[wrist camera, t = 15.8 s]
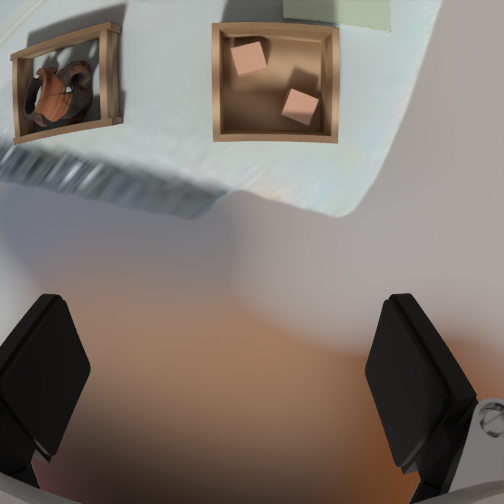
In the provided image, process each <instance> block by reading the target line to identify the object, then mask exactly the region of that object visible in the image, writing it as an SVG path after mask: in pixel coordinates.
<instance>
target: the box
mask: <svg viewBox="0 0 504 504" xmlns="http://www.w3.org/2000/svg"><path fill="white" fill-rule="evenodd" d="M259 41H260V44H261V48H262V51H263V54H264V58H265V61H266V64H267V70H266V71H263V72H259V73H255V74H250V75H247V76H243V77H239V76H238V72H237V69H236V66H235V62H234V59H233V56H232V52H231V48H235V47H239V46H242V45H247V44H251V43H255V42H259ZM339 81H340V50H339V28H337V27H329V26H320V25H309V24H296V23H276V22H228V23H212V106H213V142H226V141H291V142H319V143H337V144H338V123H339ZM289 89H294V90H297V91H299V92H302V93H304V94H307V95H309V96H311V97H314V98H316V99H319V101H318V103H317V106H316V108H315V111H314V113H313V116H312V118H311V121H310V123H309V125H306V124H303V123H301V122H298V121H296V120H293V119H290V118H288V117H285V116H283V115H280V114H279V111H280V109H281V106H282V104H283V101H284V99H285V96H286V94H287V91H288V90H289Z"/></svg>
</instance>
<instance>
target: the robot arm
mask: <svg viewBox="0 0 504 504" xmlns="http://www.w3.org/2000/svg"><path fill="white" fill-rule="evenodd" d="M89 374H90V363H89V360H88V358H87V356H86V353H85V351H84V348H83V346H82V343H81V341H80V338H79V336H78V333H77V331H76V328H75V325H74V323H73V320H72V317H71V314H70V312H69V309H68V306H67V303H66V302H65V300H63V299H62V297H61V296H60V295H56V294H42V295H41V296H40V297H39V299H37V301H36V302H35V303H34V304H33V305H32V307H31V308H30V309H29V310H28V312H27V313H26V314H25V315H24V316H23V318H22V319H21V320H20V322H19V323H18V324H17V325H16V327H15V328H14V329H13V330H12V332H11V333H10V334H9V336H8V337H7V338H6V340H5V341H4V342H3V344H2V345H1V346H0V504H81V503H77V502H74V501H71V500H68V499H65V498H62V497H59V496H56V495H53V494H51V493H48V492H45V491H43V490H41V488H40V486H39V483H38V480H37V477H36V475H35V472H34V469H33V466H32V463H31V459H32V456H34V457H35V458H36V459H38V460H41V461H44V462H47V463H50V460H51V457H52V456H54V455H55V454H56V453H57V450H58V448H59V445H60V443H61V440H62V438H63V435H64V433H65V430H66V428H67V425H68V423H69V420H70V418H71V415H72V413H73V411H74V408H75V406H76V404H77V401H78V399H79V397H80V394H81V392H82V390H83V387H84V385H85V383H86V381H87V379H88V376H89ZM365 375H366V379H367V381H368V384H369V387H370V390H371V392H372V395H373V398H374V401H375V404H376V407H377V410H378V413H379V416H380V419H381V422H382V425H383V428H384V431H385V434H386V437H387V440H388V443H389V447H390V450H391V453H392V456H393V459H394V462H395V464H396V466H398V467H400V466H401V469H402V472H403V474H407V473H411V472H414V471H418V472H419V475H420V478H421V480H420V482H419V484H418V486H417V488H416V490H415V492H414V494H413V496H412V498H411V500H410V502H409V504H504V401H503V400H501V399H497V398H487V399H484V400H482V401H481V402H480V403H478V401H477V399H476V396H477V394H476V393H475V391H474V389H473V387H472V386H471V384H470V382H469V381H468V379H467V378H466V376H465V374H464V372H463V371H462V369H461V367H460V366H459V364H458V363H457V361H456V359H455V358H454V356H453V355H452V353H451V352H450V350H449V348H448V347H447V345H446V344H445V342H444V341H443V339H442V338H441V336H440V335H439V333H438V332H437V330H436V329H435V327H434V326H433V325H432V323H431V321H430V320H429V318H428V317H427V316H426V314H425V313H424V311H423V310H422V308H421V307H420V305H419V304H418V303H417V301H416V300H415V298H414V297H413V296H412V295H411V294H409V293H405V294H392V295H391V296H390V297H389V300H385V301H384V303H383V307H382V311H381V315H380V318H379V322H378V326H377V330H376V333H375V337H374V340H373V343H372V347H371V350H370V353H369V357H368V360H367V363H366V367H365Z"/></svg>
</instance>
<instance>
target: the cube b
mask: <svg viewBox="0 0 504 504" xmlns="http://www.w3.org/2000/svg"><path fill="white" fill-rule="evenodd" d="M318 101H319V99H316V98H314V97H311V96H309V95H307V94H304V93H302V92H299V91H297V90H294V89H289V90H288V91H287V94H286V96H285V99H284V101H283V104H282V106H281V109H280V111H279V114H280V115H283V116H285V117H288V118H290V119H293V120H296V121H298V122H301V123H303V124H306V125H309V123H310V121H311V118H312V116H313V113H314V111H315V108H316V106H317V103H318Z"/></svg>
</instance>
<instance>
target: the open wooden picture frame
mask: <svg viewBox="0 0 504 504" xmlns="http://www.w3.org/2000/svg"><path fill="white" fill-rule="evenodd" d="M121 32H122V27H120V26H118V25H117V24H115V23H113V22H111V21H110V22H106V23H102V24H98V25H94V26H91V27H87V28H83V29H80V30H77V31H73V32H70V33H67V34H64V35H61V36H58V37H55V38H52V39H49V40H46V41H43V42H41V43H38V44H35V45H33V46H30V47H28V48H25V49H23V50H20V51H18V52H16V53H13V54H11V58H10V61H13V68H12V86H13V113H14V127H15V138H14V139H13V141H14V145H16V144H20V143H24V142H28V141H32V140H37V139H41V138H46V137H50V136H55V135H60V134H65V133H70V132H76V131H81V130H87V129H93V128H100V127H106V126H113V125H117V124H122V123H123V116H121V117H119V96H118V34H121ZM99 38H100V46H99V79H100V108H101V120H95V121H90V122H84V123H78V124H73V125H68V126H63V127H59V128H54V129H49V130H45V131H41V132H37V133H35V130H34V120H33V119H32V120H29V119H27V118H26V117H25V115H24V100H25V94H26V91H27V87H28V85H29V82H30V80H31V79H32V59H33V58H36V57H39V56H42V55H44V54H47V53H50V52H53V51H56V50H59V49H63V48H66V47H69V46H73V45H76V44H80V43H83V42H87V41H91V40H95V39H99Z"/></svg>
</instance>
